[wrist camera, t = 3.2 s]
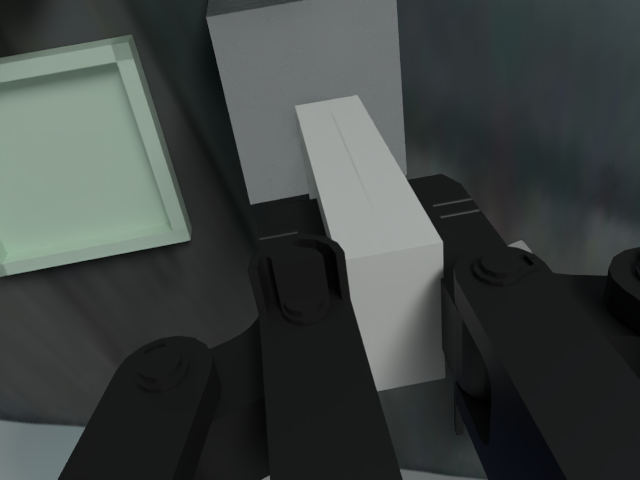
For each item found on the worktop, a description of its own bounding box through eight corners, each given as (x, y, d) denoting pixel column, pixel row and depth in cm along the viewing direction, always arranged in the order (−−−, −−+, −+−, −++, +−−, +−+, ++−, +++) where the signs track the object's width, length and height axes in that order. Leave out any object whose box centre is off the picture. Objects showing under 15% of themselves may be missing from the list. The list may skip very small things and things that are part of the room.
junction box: (247, 132, 39) (257, 253, 27) (207, -44, 33) (197, 5, 21) (366, 110, 40) (431, 220, 27) (349, -69, 33) (422, -34, 21)
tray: (2, 263, 42) (-6, 277, 40) (-101, 75, 34) (-116, 84, 33) (192, 227, 43) (190, 240, 41) (132, 34, 35) (128, 41, 33)
